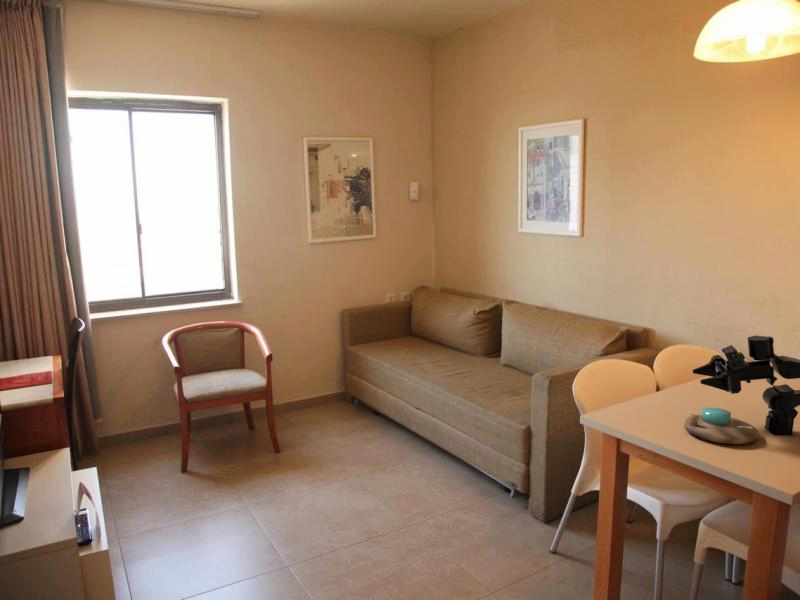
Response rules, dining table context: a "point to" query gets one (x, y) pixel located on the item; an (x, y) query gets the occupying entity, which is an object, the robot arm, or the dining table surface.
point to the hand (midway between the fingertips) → (696, 376)
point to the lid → (716, 416)
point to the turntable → (722, 430)
